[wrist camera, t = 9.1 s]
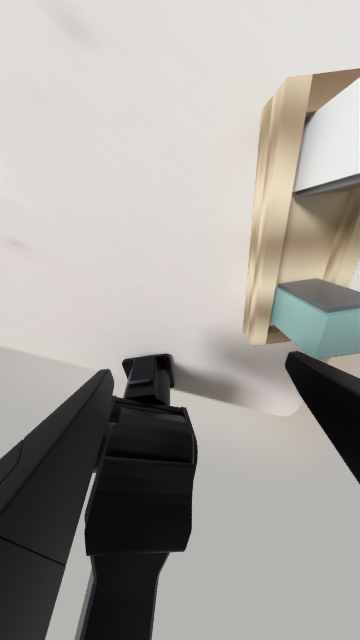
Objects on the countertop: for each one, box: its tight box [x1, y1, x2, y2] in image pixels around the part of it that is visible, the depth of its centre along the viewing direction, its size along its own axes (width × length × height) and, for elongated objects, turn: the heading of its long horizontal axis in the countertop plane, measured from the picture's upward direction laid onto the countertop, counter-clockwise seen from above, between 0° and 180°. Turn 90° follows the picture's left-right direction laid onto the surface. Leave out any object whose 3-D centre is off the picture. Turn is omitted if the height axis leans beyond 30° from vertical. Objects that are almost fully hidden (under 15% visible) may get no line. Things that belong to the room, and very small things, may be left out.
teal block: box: [270, 278, 360, 359], centre depth 15 cm, size 4×5×7 cm
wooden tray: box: [243, 68, 360, 346], centre depth 16 cm, size 20×9×3 cm, turn 7°
